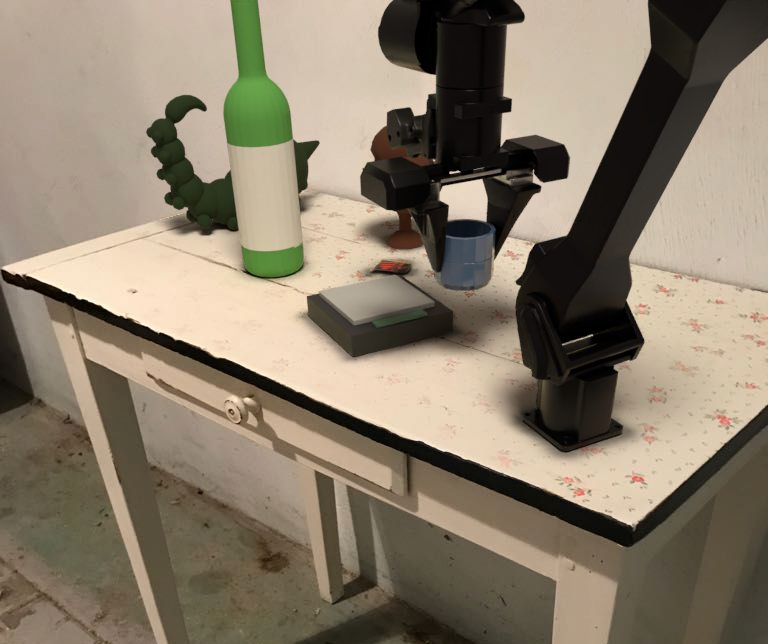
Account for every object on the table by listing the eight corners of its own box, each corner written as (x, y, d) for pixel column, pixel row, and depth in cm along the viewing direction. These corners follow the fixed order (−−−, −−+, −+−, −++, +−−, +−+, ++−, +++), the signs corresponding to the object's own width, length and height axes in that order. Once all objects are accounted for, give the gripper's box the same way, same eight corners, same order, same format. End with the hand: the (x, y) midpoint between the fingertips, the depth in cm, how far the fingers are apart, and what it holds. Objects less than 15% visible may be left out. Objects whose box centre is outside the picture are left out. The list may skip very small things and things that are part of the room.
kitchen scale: (453, 332, 88) (454, 305, 87) (352, 357, 84) (351, 330, 82) (401, 294, 97) (401, 270, 95) (308, 316, 93) (305, 290, 91)
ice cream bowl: (440, 257, 107) (441, 133, 98) (356, 253, 109) (350, 131, 100) (451, 230, 115) (453, 113, 106) (373, 227, 117) (369, 113, 108)
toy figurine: (194, 257, 114) (344, 205, 124) (156, 111, 102) (325, 66, 112) (167, 240, 120) (311, 191, 130) (128, 100, 108) (290, 58, 118)
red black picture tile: (410, 274, 102) (410, 270, 101) (369, 274, 102) (369, 270, 102) (412, 261, 105) (412, 257, 105) (372, 261, 106) (372, 257, 106)
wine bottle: (233, 267, 106) (193, -6, 88) (284, 253, 110) (256, -12, 91) (264, 284, 101) (228, -2, 83) (316, 269, 104) (293, -9, 86)
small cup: (503, 284, 78) (507, 232, 75) (452, 296, 76) (454, 243, 73) (472, 265, 82) (474, 215, 79) (423, 276, 80) (423, 225, 77)
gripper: (509, 58, 78) (500, 224, 87) (329, 81, 71) (340, 257, 81) (582, 76, 70) (563, 256, 79) (387, 103, 63) (391, 296, 73)
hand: (464, 265), depth 78 cm, fingers closed on small cup, 6 cm apart
